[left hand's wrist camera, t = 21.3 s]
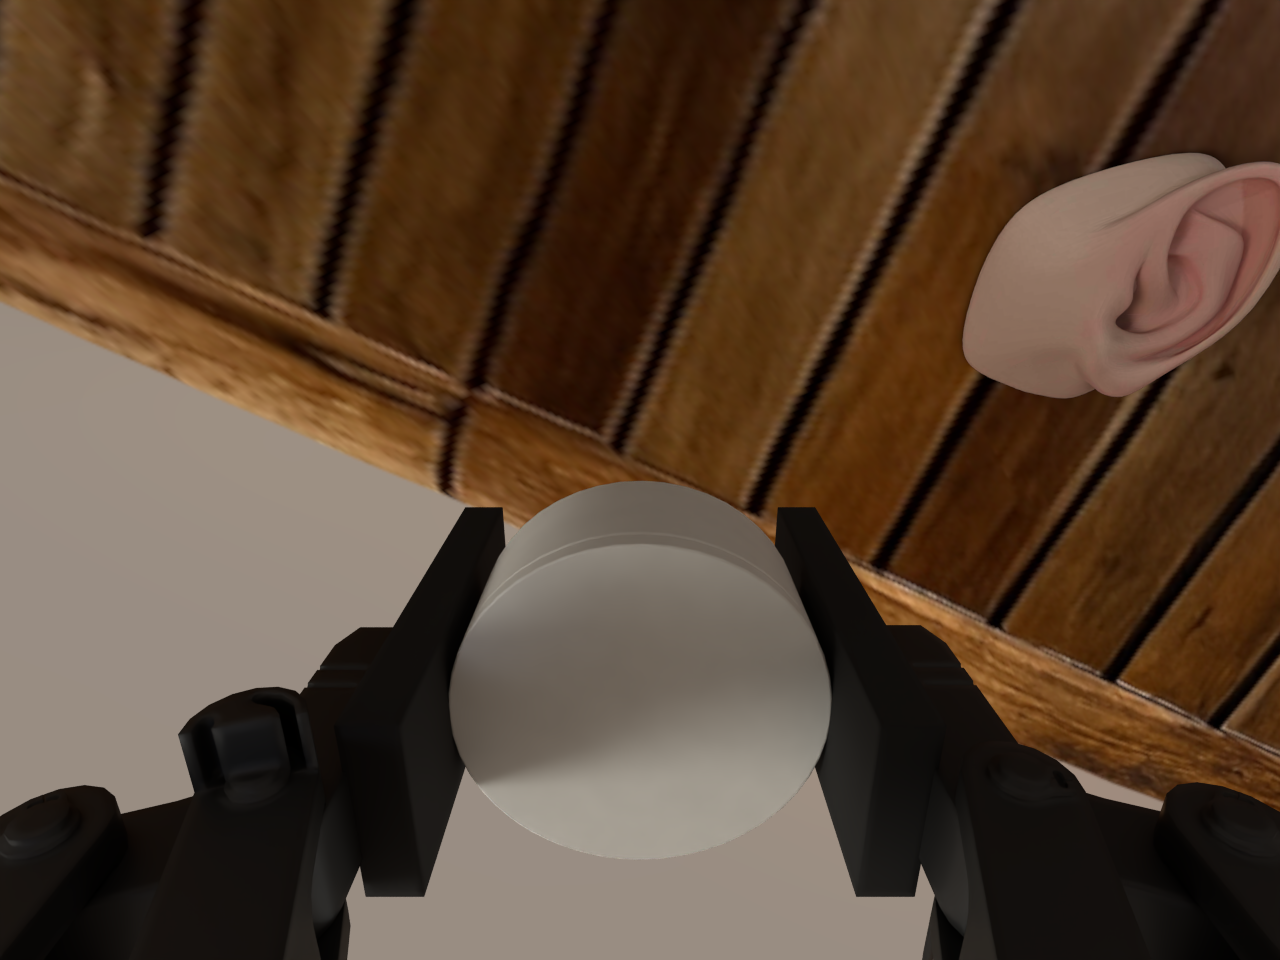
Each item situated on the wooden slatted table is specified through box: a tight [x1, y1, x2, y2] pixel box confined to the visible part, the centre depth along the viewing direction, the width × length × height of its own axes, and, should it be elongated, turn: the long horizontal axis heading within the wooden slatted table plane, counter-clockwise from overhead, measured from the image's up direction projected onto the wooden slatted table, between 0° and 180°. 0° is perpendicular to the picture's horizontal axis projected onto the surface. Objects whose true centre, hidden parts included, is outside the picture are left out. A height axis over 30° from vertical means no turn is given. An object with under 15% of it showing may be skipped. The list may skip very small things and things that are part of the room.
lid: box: [448, 481, 832, 860], centre depth 11 cm, size 6×6×2 cm
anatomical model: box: [963, 153, 1280, 398], centre depth 34 cm, size 13×4×12 cm
